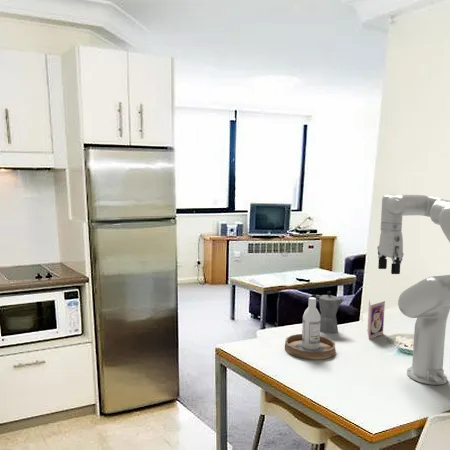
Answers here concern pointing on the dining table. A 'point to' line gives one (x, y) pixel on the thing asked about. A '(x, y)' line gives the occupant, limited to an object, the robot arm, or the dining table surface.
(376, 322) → the greeting card
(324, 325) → the coffeepot
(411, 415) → the dining table surface
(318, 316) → the bath foam
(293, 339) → the round tray
